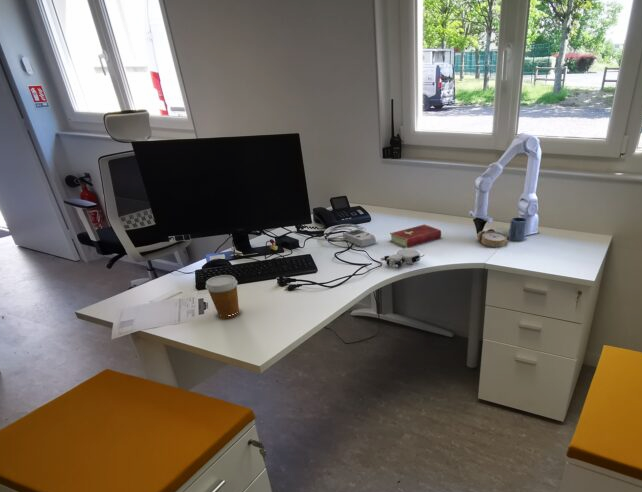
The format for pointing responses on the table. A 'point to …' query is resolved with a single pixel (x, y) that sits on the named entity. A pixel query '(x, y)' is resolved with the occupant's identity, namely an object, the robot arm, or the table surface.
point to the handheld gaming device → (359, 237)
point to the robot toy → (402, 257)
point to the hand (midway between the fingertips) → (479, 234)
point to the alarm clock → (492, 238)
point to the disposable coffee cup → (224, 295)
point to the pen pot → (517, 229)
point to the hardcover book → (415, 235)
